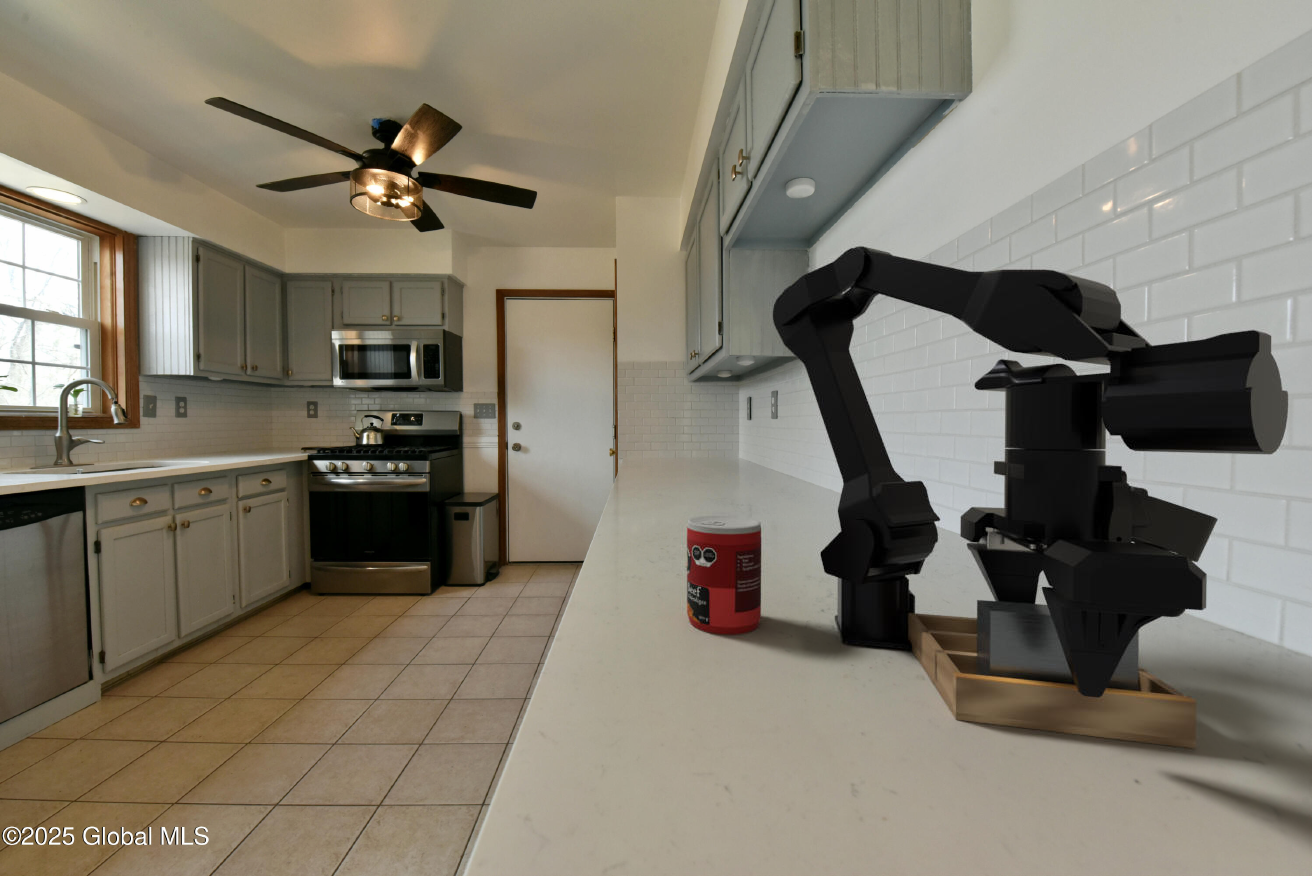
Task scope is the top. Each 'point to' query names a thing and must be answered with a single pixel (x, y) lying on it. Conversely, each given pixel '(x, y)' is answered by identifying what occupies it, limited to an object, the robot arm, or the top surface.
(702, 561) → the canned food
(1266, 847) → the top surface
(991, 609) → the panel
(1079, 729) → the tray
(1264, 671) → the top surface
